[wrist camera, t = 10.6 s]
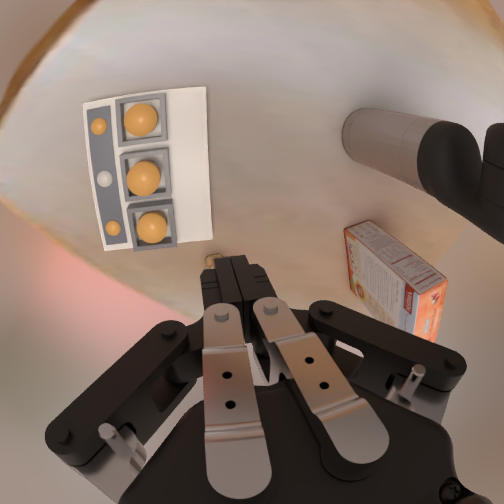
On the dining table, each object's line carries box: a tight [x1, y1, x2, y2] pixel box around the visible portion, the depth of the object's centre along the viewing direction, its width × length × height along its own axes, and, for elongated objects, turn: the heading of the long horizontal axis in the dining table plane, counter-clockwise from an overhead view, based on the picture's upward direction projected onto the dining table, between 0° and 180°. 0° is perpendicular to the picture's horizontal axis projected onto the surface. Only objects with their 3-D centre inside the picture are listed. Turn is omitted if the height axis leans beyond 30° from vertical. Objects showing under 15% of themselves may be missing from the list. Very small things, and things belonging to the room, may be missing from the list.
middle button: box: [126, 160, 161, 196], centre depth 33 cm, size 4×4×2 cm
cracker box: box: [344, 220, 448, 343], centre depth 44 cm, size 14×6×21 cm, turn 16°
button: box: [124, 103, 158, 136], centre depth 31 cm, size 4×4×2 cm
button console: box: [83, 87, 213, 251], centre depth 36 cm, size 16×21×5 cm
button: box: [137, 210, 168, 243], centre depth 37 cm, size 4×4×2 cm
